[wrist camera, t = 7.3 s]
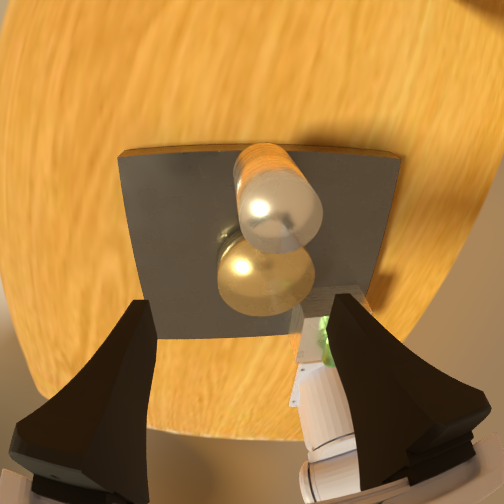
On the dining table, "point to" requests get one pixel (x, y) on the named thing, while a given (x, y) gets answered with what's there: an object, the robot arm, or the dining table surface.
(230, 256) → the gold rounded piece
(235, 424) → the dining table surface
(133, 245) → the instrument base
